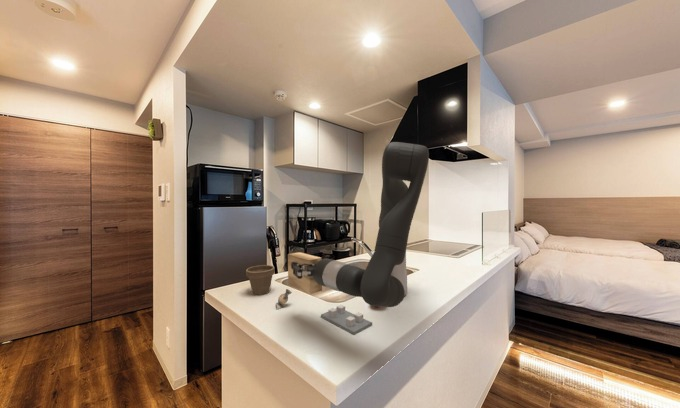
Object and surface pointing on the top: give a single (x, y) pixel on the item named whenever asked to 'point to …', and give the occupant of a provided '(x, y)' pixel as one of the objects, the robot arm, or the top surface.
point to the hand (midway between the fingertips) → (299, 263)
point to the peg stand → (346, 319)
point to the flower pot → (260, 278)
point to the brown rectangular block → (305, 282)
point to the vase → (283, 299)
